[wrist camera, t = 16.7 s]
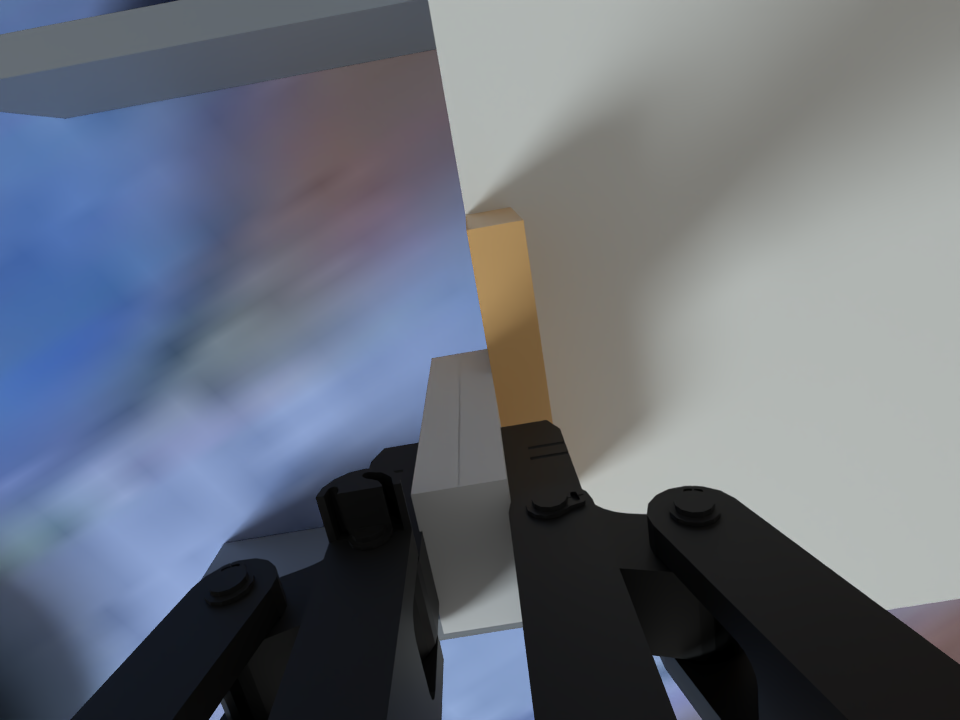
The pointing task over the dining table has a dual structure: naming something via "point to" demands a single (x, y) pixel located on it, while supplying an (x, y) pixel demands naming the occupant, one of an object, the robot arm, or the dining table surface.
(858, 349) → the lid
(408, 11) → the housing
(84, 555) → the dining table surface
